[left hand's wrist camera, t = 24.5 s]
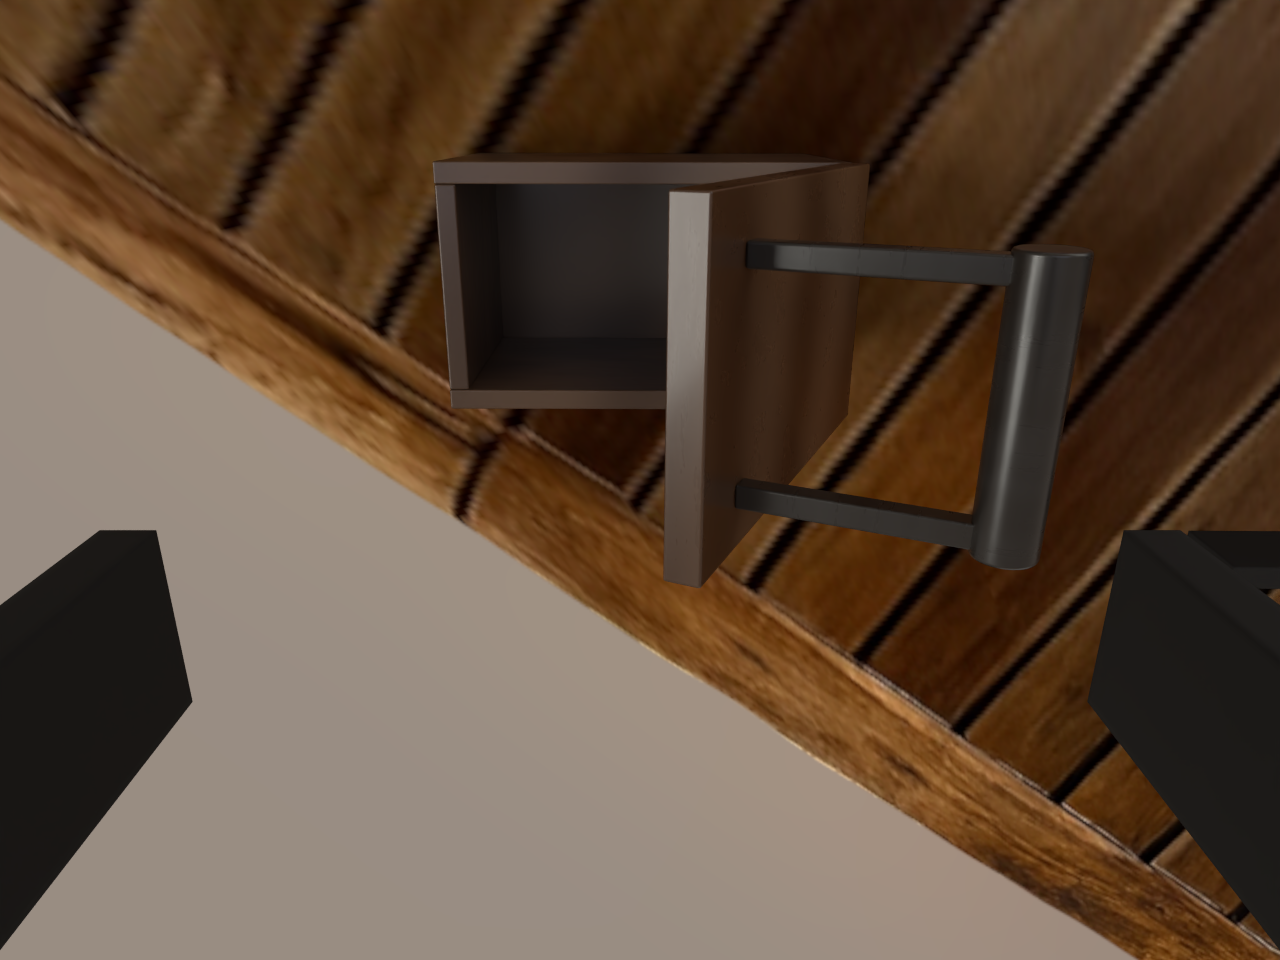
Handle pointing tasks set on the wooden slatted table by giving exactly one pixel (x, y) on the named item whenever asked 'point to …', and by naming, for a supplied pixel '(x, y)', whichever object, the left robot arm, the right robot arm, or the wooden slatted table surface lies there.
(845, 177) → the lid
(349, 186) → the wooden slatted table surface
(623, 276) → the chest
